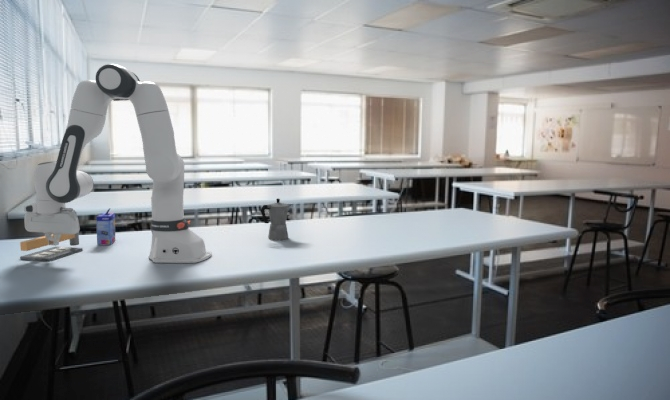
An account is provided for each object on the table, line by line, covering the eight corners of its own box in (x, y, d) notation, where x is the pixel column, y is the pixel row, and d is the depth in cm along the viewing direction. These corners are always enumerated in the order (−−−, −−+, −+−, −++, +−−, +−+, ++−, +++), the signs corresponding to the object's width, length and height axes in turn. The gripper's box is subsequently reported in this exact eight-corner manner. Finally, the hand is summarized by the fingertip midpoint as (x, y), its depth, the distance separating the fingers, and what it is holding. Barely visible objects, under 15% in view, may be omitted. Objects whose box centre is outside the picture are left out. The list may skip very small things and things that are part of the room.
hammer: (81, 243, 178) (79, 226, 177) (28, 259, 154) (26, 239, 153) (74, 243, 179) (72, 225, 178) (20, 259, 155) (19, 238, 154)
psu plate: (82, 250, 173) (82, 247, 173) (49, 261, 157) (48, 257, 157) (55, 248, 175) (55, 245, 175) (20, 259, 159) (19, 255, 159)
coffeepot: (284, 234, 208) (284, 196, 205) (296, 238, 200) (296, 198, 198) (255, 238, 198) (255, 198, 195) (266, 242, 191) (266, 201, 188)
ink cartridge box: (111, 245, 183) (109, 210, 181) (96, 245, 181) (94, 210, 179) (116, 240, 192) (114, 206, 190) (102, 240, 191) (100, 207, 189)
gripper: (82, 207, 159) (85, 244, 161) (35, 204, 163) (37, 241, 165) (68, 209, 153) (71, 248, 154) (19, 206, 157) (22, 245, 159)
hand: (53, 245), depth 160 cm, fingers closed
